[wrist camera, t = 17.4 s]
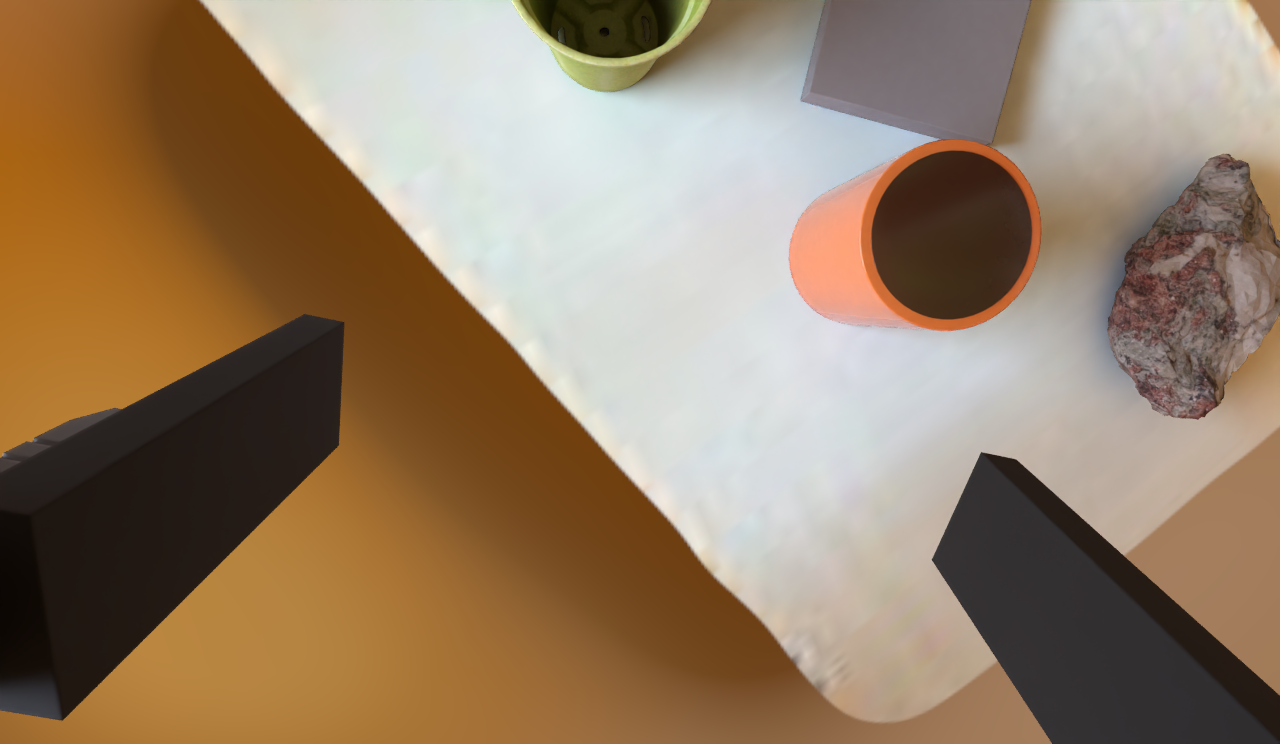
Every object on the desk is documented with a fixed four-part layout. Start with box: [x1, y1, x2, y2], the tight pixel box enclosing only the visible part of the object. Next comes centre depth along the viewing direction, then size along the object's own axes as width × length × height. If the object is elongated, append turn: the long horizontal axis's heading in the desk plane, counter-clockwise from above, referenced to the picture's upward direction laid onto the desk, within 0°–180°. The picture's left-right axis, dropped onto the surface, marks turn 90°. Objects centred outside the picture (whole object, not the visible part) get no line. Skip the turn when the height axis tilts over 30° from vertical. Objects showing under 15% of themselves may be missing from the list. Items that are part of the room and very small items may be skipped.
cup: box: [789, 139, 1041, 331], centre depth 32 cm, size 8×8×10 cm
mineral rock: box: [1108, 154, 1280, 420], centre depth 37 cm, size 15×8×4 cm, turn 149°
